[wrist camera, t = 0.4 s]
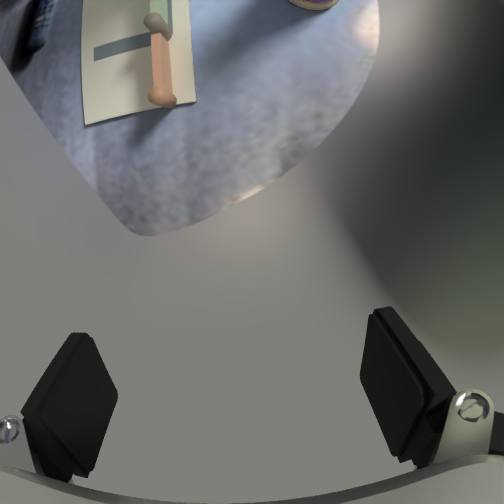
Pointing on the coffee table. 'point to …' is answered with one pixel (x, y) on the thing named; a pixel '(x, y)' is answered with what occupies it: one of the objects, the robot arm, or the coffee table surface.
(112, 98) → the board
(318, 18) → the coffee table surface
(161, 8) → the bar
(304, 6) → the stacking toy
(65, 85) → the coffee table surface
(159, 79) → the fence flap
